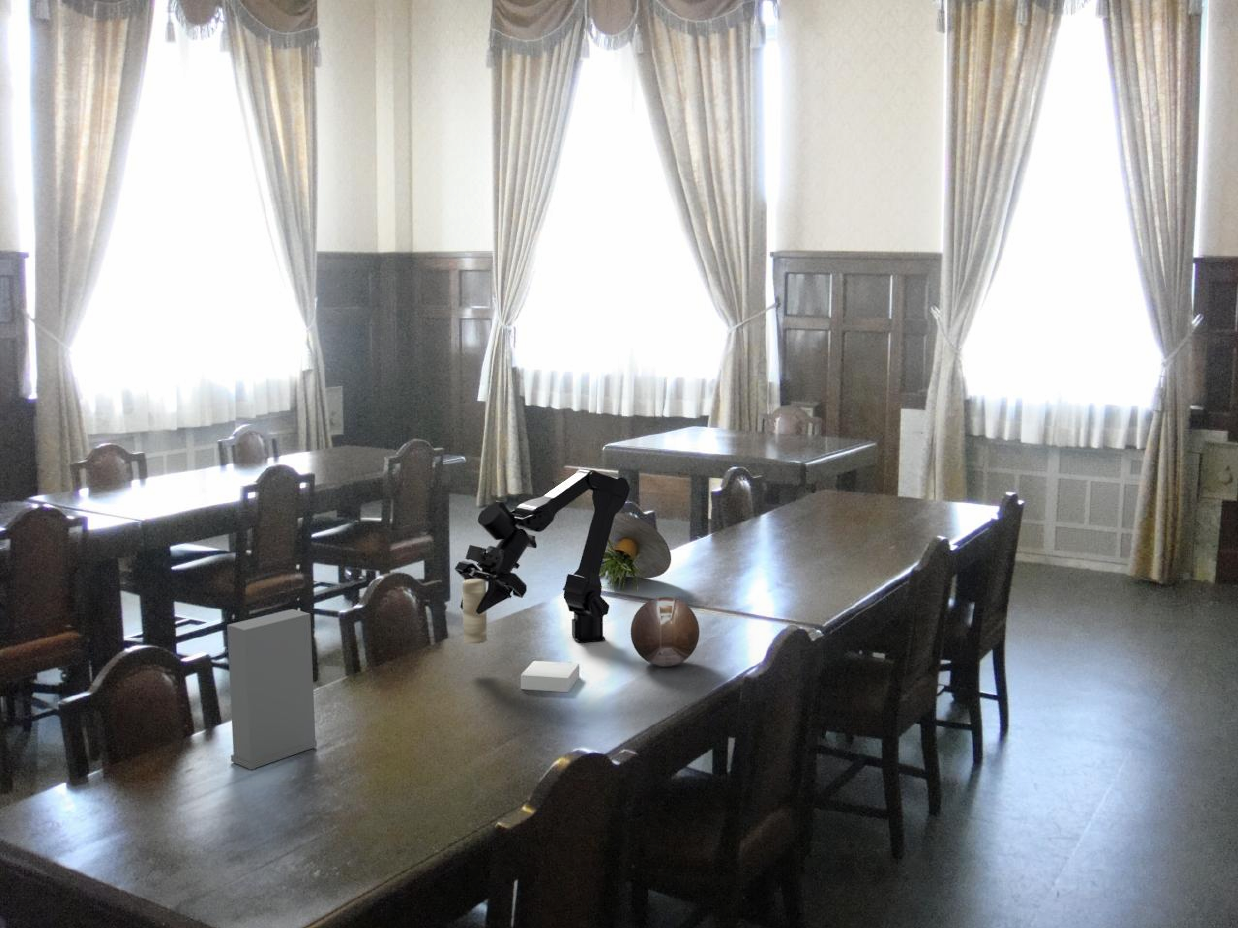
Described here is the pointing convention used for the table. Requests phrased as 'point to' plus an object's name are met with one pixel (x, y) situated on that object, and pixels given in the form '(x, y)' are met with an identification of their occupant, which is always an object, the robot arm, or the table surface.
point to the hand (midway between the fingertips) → (469, 610)
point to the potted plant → (634, 550)
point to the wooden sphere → (665, 631)
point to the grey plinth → (550, 676)
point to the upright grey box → (271, 687)
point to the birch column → (474, 611)
